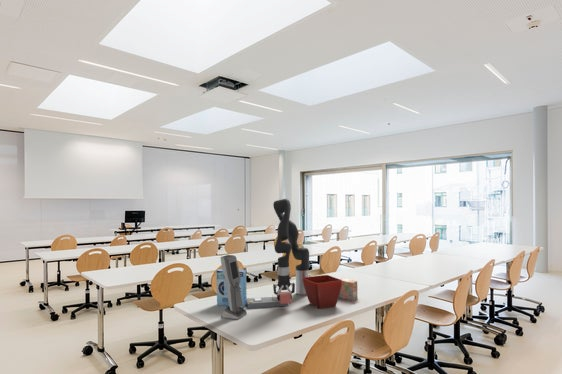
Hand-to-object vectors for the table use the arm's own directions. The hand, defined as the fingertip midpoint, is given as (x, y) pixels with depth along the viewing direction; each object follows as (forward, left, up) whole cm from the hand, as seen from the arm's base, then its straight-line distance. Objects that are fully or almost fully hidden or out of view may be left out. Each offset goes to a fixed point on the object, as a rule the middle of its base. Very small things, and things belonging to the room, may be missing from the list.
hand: (284, 300), depth 214 cm
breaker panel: (+10, -11, -5) cm, 16 cm away
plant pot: (-25, -2, -5) cm, 26 cm away
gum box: (+33, -14, -5) cm, 36 cm away
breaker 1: (+16, -11, -4) cm, 19 cm away
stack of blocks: (-44, -17, -6) cm, 48 cm away
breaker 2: (+4, -11, -3) cm, 12 cm away
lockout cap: (0, 0, -1) cm, 1 cm away
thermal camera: (+32, +7, -5) cm, 33 cm away
